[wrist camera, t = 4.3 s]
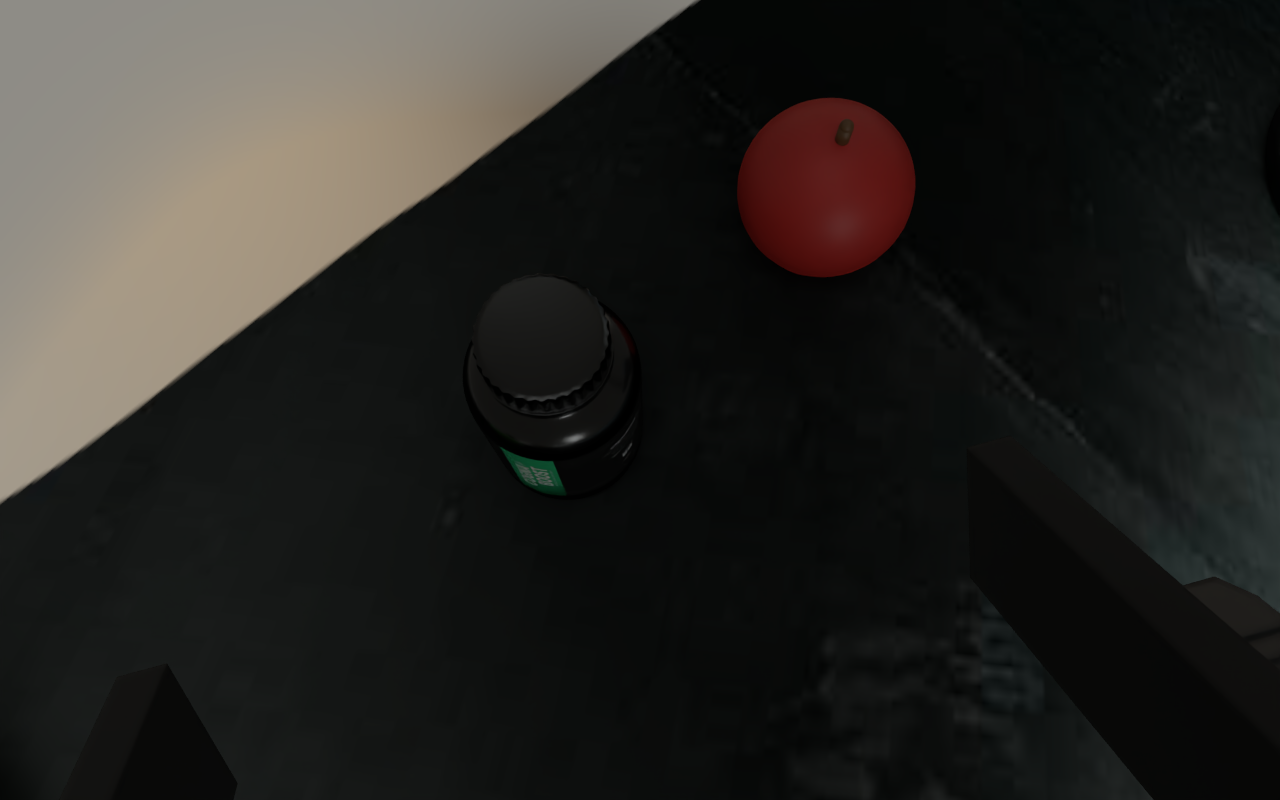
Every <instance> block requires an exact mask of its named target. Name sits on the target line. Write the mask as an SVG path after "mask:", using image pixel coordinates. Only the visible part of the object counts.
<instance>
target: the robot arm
mask: <svg viewBox="0 0 1280 800" xmlns="http://www.w3.org/2000/svg"><path fill="white" fill-rule="evenodd" d="M1266 164H1267V172H1268V178H1269V182H1270V186H1271V190H1272V193H1273V196H1274V198H1275V201H1276V204H1277V206H1278V208H1279V210H1280V106H1279V108H1278V110H1277V112H1276V113H1275V115H1274V118H1273V121H1272V123H1271V126H1270V130H1269V134H1268V138H1267V147H1266ZM967 473H968V510H969V546H970V578H971V579H972V580H973V581H974V582H975V584H976V585H977V586H978V587H979V588H980V590H981V591H982V592H983V593H984V595H985V596H986V597H987V598H988V599H989V601H990V602H991V603H992V604H993V605H994V607H995V608H996V609H997V610H998V612H999V613H1000V614H1001V615H1002V616H1003V618H1004V619H1005V620H1006V621H1007V622H1008V624H1009V625H1010V626H1011V627H1012V629H1013V630H1014V631H1015V632H1016V633H1017V635H1018V636H1019V637H1020V638H1021V639H1022V641H1023V642H1024V643H1025V644H1026V645H1027V647H1028V648H1029V649H1030V650H1031V652H1032V653H1033V654H1034V655H1035V656H1036V658H1037V659H1038V660H1039V661H1040V662H1041V664H1042V665H1043V666H1044V667H1045V669H1046V670H1047V671H1048V672H1049V673H1050V675H1051V676H1052V677H1053V678H1054V679H1055V681H1056V682H1057V683H1058V684H1059V685H1060V687H1061V688H1062V689H1063V690H1064V692H1065V693H1066V694H1067V695H1068V696H1069V698H1070V699H1071V700H1072V701H1073V702H1074V704H1075V705H1076V706H1077V707H1078V709H1079V710H1080V711H1081V712H1082V713H1083V715H1084V716H1085V717H1086V718H1087V719H1088V721H1089V722H1090V723H1091V724H1092V726H1093V727H1094V728H1095V729H1096V730H1097V732H1098V733H1099V734H1100V735H1101V736H1102V738H1103V739H1104V740H1105V741H1106V742H1107V744H1108V745H1109V746H1110V747H1111V749H1112V750H1113V751H1114V752H1115V753H1116V755H1117V756H1118V757H1119V758H1120V759H1121V761H1122V762H1123V763H1124V764H1125V766H1126V767H1127V768H1128V769H1129V770H1130V772H1131V773H1132V774H1133V775H1134V776H1135V778H1136V779H1137V780H1138V781H1139V783H1140V784H1141V785H1142V786H1143V787H1144V789H1145V790H1146V791H1147V792H1148V793H1149V795H1150V796H1151V797H1152V798H1153V799H1154V800H1280V613H1278V612H1277V611H1276V610H1275V609H1273V608H1272V607H1271V606H1270V605H1268V604H1267V603H1266V602H1265V601H1263V600H1262V599H1261V598H1260V597H1258V596H1257V595H1254V594H1252V593H1250V592H1248V591H1246V590H1243V589H1241V588H1239V587H1237V586H1234V585H1232V584H1230V583H1228V582H1226V581H1223V580H1221V579H1219V578H1217V577H1211V578H1208V579H1204V580H1201V581H1197V582H1194V583H1190V584H1187V585H1182V584H1180V583H1179V582H1178V581H1177V580H1176V579H1175V578H1174V577H1172V576H1171V575H1170V574H1169V573H1168V572H1167V571H1165V570H1164V569H1163V568H1162V567H1161V566H1160V565H1159V564H1157V563H1156V562H1155V561H1154V560H1153V559H1152V558H1150V557H1149V556H1148V555H1147V554H1146V553H1145V552H1144V551H1142V550H1141V549H1140V548H1139V547H1138V546H1137V545H1136V544H1134V543H1133V542H1132V541H1131V540H1130V539H1129V538H1127V537H1126V536H1125V535H1124V534H1123V533H1122V532H1121V531H1119V530H1118V529H1117V528H1116V527H1115V526H1114V525H1113V524H1111V523H1110V522H1109V521H1108V520H1107V519H1106V518H1104V517H1103V516H1102V515H1101V514H1100V513H1099V512H1098V511H1096V510H1095V509H1094V508H1093V507H1092V506H1091V505H1089V504H1088V503H1087V502H1086V501H1085V500H1084V499H1083V498H1081V497H1080V496H1079V495H1078V494H1077V493H1076V492H1075V491H1073V490H1072V489H1071V488H1070V487H1069V486H1068V485H1066V484H1065V483H1064V482H1063V481H1062V480H1061V479H1060V478H1058V477H1057V476H1056V475H1055V474H1054V473H1053V472H1052V471H1050V470H1049V469H1048V468H1047V467H1046V466H1045V465H1043V464H1042V463H1041V462H1040V461H1039V460H1038V459H1037V458H1035V457H1034V456H1033V455H1032V454H1031V453H1030V452H1028V451H1027V450H1026V449H1025V448H1024V447H1023V446H1022V445H1020V444H1019V443H1018V442H1017V441H1016V440H1015V439H1014V438H1012V437H1011V436H1008V437H1004V438H1000V439H996V440H993V441H989V442H985V443H982V444H978V445H974V446H971V447H967ZM237 784H238V783H237V782H236V780H235V778H234V776H233V775H232V773H231V771H230V770H229V768H228V766H227V765H226V763H225V761H224V759H223V758H222V756H221V754H220V753H219V751H218V749H217V748H216V746H215V744H214V742H213V741H212V739H211V737H210V736H209V734H208V732H207V731H206V729H205V727H204V725H203V724H202V722H201V720H200V719H199V717H198V715H197V714H196V712H195V710H194V709H193V707H192V705H191V703H190V702H189V700H188V698H187V697H186V695H185V693H184V692H183V690H182V688H181V686H180V685H179V683H178V681H177V680H176V678H175V676H174V675H173V673H172V671H171V669H170V668H169V666H168V664H163V665H160V666H156V667H152V668H148V669H145V670H141V671H137V672H134V673H130V674H126V675H123V676H119V677H117V678H116V680H115V682H114V684H113V686H112V689H111V691H110V693H109V695H108V697H107V699H106V701H105V703H104V706H103V708H102V710H101V712H100V714H99V716H98V718H97V720H96V723H95V725H94V727H93V729H92V731H91V733H90V735H89V737H88V740H87V742H86V744H85V746H84V748H83V750H82V752H81V754H80V756H79V759H78V761H77V763H76V765H75V767H74V769H73V771H72V773H71V776H70V778H69V780H68V782H67V784H66V786H65V788H64V790H63V793H62V795H61V797H60V799H59V800H233V799H234V795H235V791H236V788H237Z"/></svg>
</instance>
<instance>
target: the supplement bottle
mask: <svg viewBox="0 0 1280 800" xmlns="http://www.w3.org/2000/svg"><path fill="white" fill-rule="evenodd" d="M473 332H474V335H473V337H472V339H471V342H470V344H469V347H468V349H467V352H466V356H465V360H464V366H463V387H464V393H465V397H466V401H467V403H468V406H469V409H470V411H471V413H472V415H473V417H474V419H475V421H476V422H477V424H478V426H479V427H480V429H481V430H482V432H483V433H484V435H485V436H486V438H487V439H488V441H489V443H490V444H491V446H492V447H493V449H494V450H495V452H496V453H497V455H498V456H499V458H500V459H501V461H502V462H503V464H504V465H505V467H506V468H507V469H508V471H509V472H510V473H511V474H512V476H513V477H514V478H515V479H516V480H517V481H519V482H520V483H521V484H522V485H524V486H525V487H527V488H528V489H530V490H532V491H533V492H535V493H538V494H540V495H542V496H546V497H549V498H554V499H563V500H572V499H580V498H585V497H589V496H592V495H595V494H597V493H599V492H601V491H603V490H605V489H607V488H608V487H610V486H611V485H613V484H614V483H615V482H617V481H618V480H619V479H620V478H621V477H622V476H623V475H624V474H625V472H626V471H627V470H628V469H629V467H630V466H631V464H632V462H633V461H634V459H635V457H636V454H637V452H638V449H639V446H640V442H641V437H642V426H643V413H642V377H641V364H640V358H639V354H638V350H637V347H636V344H635V341H634V339H633V337H632V335H631V333H630V331H629V330H628V328H627V327H626V325H625V324H624V322H623V321H622V320H621V319H620V318H619V317H618V316H617V315H616V314H615V313H614V312H613V311H612V310H611V309H610V308H608V307H607V306H606V305H604V304H603V303H601V302H599V301H598V299H597V298H596V297H595V296H593V295H591V294H590V291H589V290H588V289H587V288H585V287H582V286H581V285H580V284H579V283H578V282H577V281H571V280H569V279H568V278H567V277H565V276H561V277H558V276H557V275H555V274H548V275H544V274H541V273H538V274H536V275H533V276H532V275H525V276H524V277H522V278H521V279H513V280H512V281H511V282H510V283H509V284H504V285H502V286H501V287H500V288H499V290H498V291H496V292H494V293H492V294H491V296H490V298H489V300H488V301H486V302H485V303H483V306H482V310H481V311H480V312H479V313H478V314H477V322H476V323H475V324H474V326H473Z"/></svg>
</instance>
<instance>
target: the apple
mask: <svg viewBox="0 0 1280 800" xmlns="http://www.w3.org/2000/svg"><path fill="white" fill-rule="evenodd" d="M914 194H915V172H914V166H913V161H912V158H911V155H910V152H909V150H908V147H907V145H906V143H905V141H904V139H903V138H902V136H901V135H900V133H899V132H898V131H897V129H896V128H895V127H894V126H893V125H892V124H891V123H890V122H889V121H888V120H887V119H886V118H885V117H884V116H882V115H881V114H880V113H878V112H877V111H875V110H873V109H872V108H870V107H868V106H866V105H863V104H861V103H858V102H855V101H851V100H847V99H841V98H821V99H815V100H809V101H806V102H802V103H799V104H797V105H794V106H792V107H790V108H788V109H786V110H785V111H783V112H781V113H780V114H778V115H777V116H775V117H774V118H773V119H771V120H770V121H769V122H768V123H767V124H766V125H765V126H764V127H763V128H762V129H761V130H760V131H759V133H758V134H757V135H756V136H755V138H754V139H753V141H752V142H751V144H750V146H749V148H748V150H747V151H746V153H745V156H744V158H743V161H742V164H741V167H740V172H739V176H738V188H737V198H738V207H739V211H740V215H741V219H742V222H743V224H744V227H745V229H746V231H747V233H748V234H749V236H750V238H751V240H752V241H753V242H754V244H755V245H756V246H757V248H758V249H759V250H760V251H761V252H762V253H763V254H764V255H765V256H766V257H768V258H769V259H770V260H771V261H773V262H774V263H776V264H778V265H779V266H781V267H783V268H784V269H786V270H788V271H790V272H793V273H796V274H799V275H804V276H813V277H833V276H839V275H844V274H847V273H851V272H853V271H856V270H858V269H860V268H863V267H865V266H867V265H868V264H870V263H872V262H873V261H875V260H876V259H877V258H878V257H880V256H881V255H882V254H883V253H884V252H886V251H887V250H888V249H889V248H890V247H891V245H892V244H893V243H894V242H895V241H896V239H897V238H898V236H899V235H900V233H901V232H902V230H903V229H904V227H905V225H906V222H907V220H908V218H909V215H910V213H911V209H912V206H913V201H914Z"/></svg>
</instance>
